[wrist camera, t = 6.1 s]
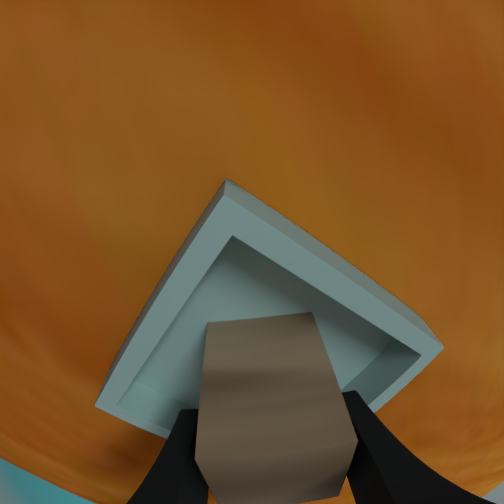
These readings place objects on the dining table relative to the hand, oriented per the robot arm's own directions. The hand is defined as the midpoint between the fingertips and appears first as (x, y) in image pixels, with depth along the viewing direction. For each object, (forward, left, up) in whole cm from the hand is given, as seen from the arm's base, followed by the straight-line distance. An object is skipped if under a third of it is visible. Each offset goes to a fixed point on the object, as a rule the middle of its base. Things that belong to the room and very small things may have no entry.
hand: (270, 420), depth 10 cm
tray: (0, 0, -4) cm, 4 cm away
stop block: (0, 0, -3) cm, 3 cm away
